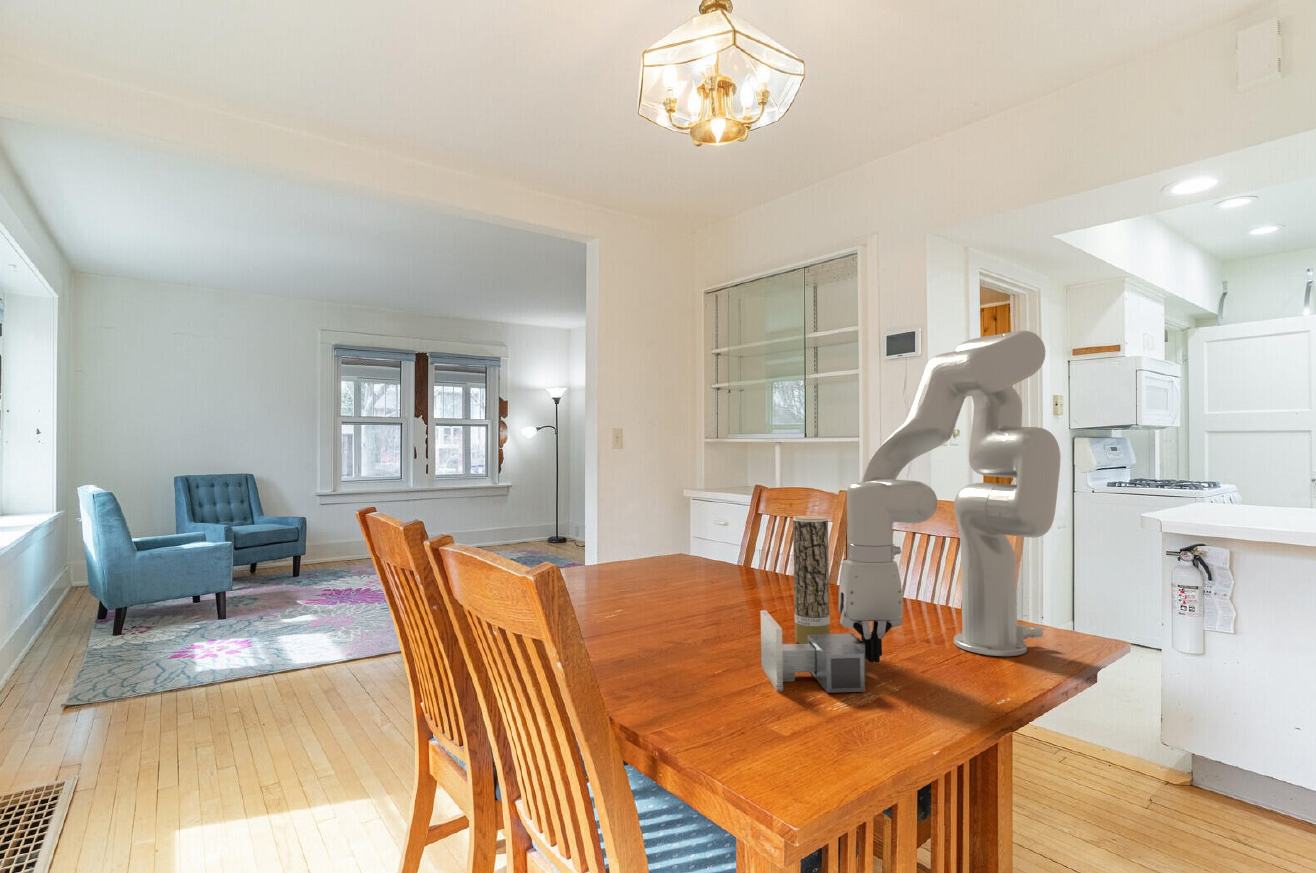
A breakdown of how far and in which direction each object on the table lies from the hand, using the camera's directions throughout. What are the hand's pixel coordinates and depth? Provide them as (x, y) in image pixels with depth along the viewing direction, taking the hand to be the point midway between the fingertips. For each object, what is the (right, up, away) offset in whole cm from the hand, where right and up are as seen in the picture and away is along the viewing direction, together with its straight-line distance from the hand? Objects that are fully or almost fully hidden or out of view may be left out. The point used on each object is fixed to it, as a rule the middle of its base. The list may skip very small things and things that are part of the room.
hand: (871, 660), depth 113 cm
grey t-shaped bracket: (-12, -2, -2) cm, 13 cm away
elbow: (-6, -2, -4) cm, 8 cm away
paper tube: (-6, -3, +18) cm, 19 cm away
